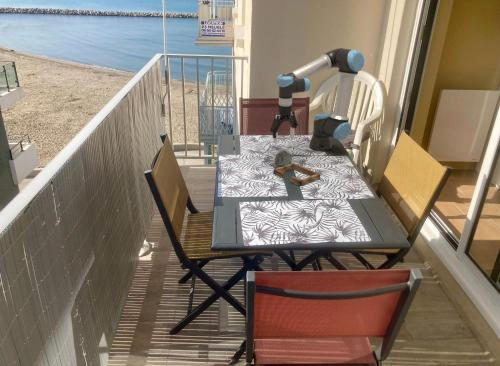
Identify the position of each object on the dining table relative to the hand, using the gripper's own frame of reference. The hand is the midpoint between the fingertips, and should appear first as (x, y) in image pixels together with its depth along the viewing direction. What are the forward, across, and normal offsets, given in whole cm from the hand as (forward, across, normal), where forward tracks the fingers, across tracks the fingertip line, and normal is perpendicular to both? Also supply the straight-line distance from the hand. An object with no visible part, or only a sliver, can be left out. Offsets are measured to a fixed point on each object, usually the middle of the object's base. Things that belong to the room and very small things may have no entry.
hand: (283, 140), depth 242 cm
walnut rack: (+16, +6, +17) cm, 24 cm away
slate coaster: (+16, +1, 0) cm, 16 cm away
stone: (+15, 0, 0) cm, 15 cm away
